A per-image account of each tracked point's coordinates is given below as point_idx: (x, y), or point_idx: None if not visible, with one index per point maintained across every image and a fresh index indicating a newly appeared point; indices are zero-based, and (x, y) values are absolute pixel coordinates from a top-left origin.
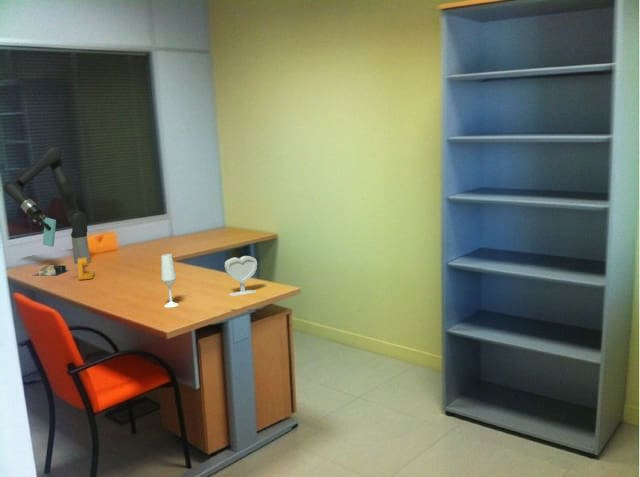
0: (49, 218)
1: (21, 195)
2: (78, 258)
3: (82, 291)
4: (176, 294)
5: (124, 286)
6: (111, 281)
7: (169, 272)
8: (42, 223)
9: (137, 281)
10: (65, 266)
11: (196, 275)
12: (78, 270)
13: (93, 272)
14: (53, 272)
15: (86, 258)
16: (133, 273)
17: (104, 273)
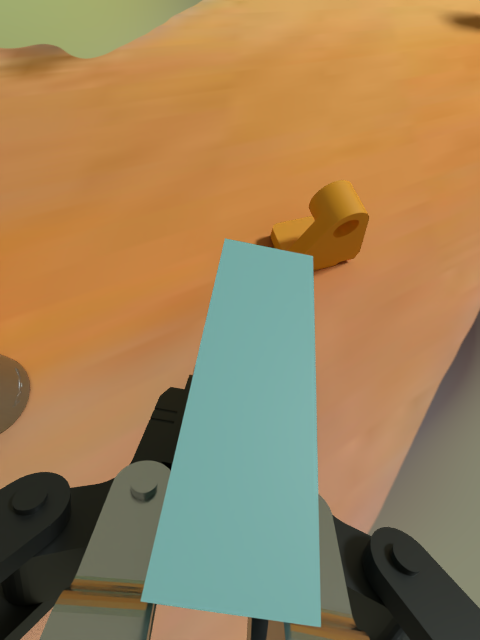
0: (198, 438)
1: None
2: (360, 210)
3: (466, 203)
4: (441, 24)
5: (398, 118)
6: (350, 161)
7: None
8: (419, 558)
9: (345, 102)
10: None
11: (282, 5)
12: (362, 238)
13: (297, 220)
14: None
15: (347, 181)
16: (249, 129)
17: (240, 213)
